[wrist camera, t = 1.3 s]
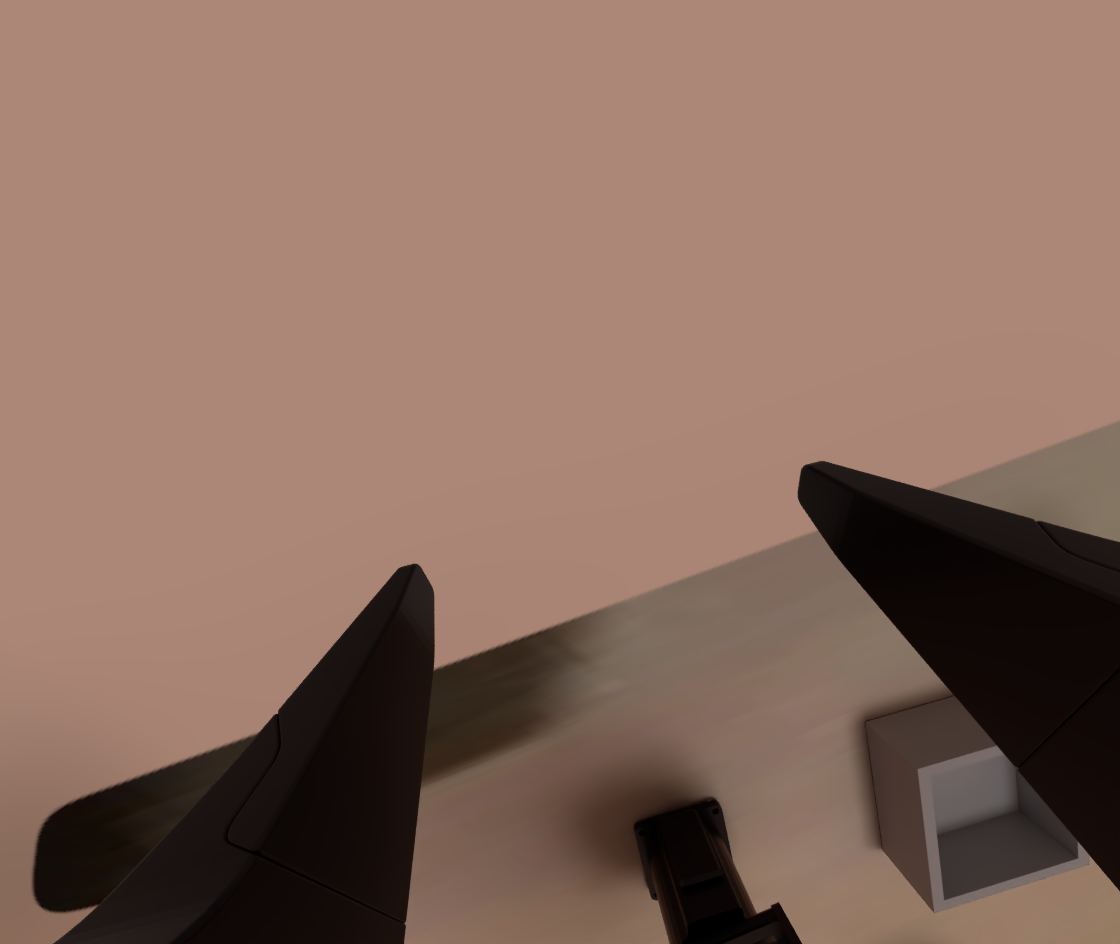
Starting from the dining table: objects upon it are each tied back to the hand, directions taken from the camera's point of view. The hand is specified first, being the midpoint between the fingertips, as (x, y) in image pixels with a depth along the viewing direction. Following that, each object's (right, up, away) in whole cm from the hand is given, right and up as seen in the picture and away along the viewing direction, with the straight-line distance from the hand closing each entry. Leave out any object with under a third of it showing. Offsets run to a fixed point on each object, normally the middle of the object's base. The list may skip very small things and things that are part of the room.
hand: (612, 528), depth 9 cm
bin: (+28, -21, +21) cm, 41 cm away
